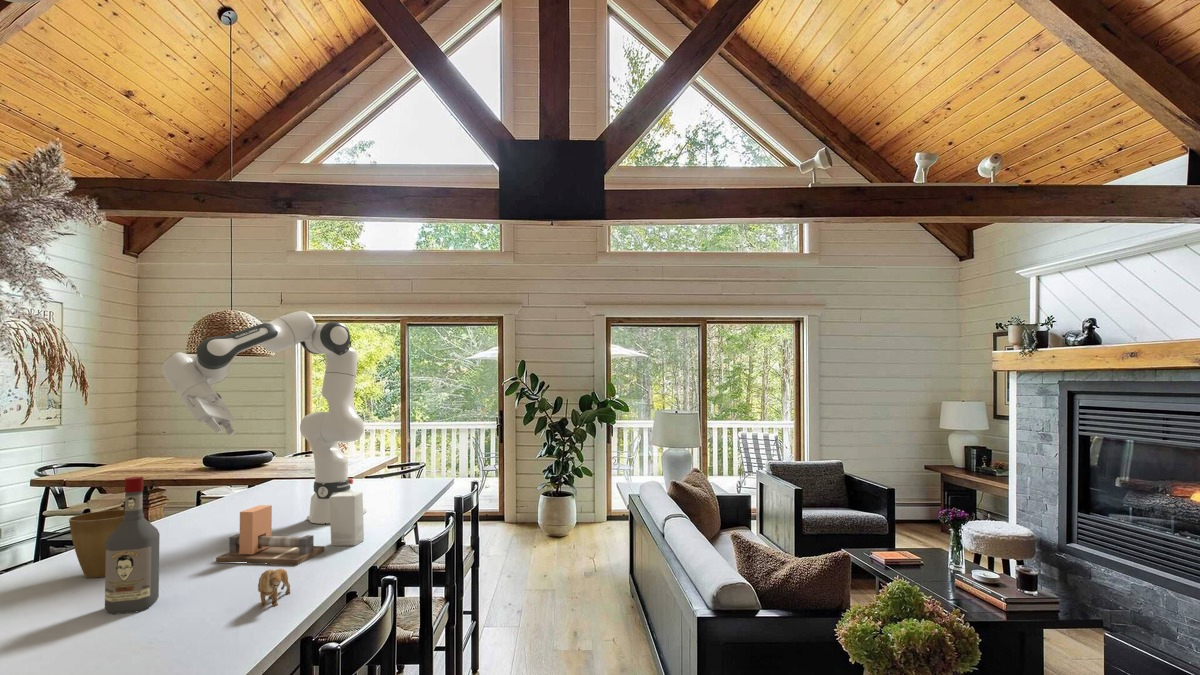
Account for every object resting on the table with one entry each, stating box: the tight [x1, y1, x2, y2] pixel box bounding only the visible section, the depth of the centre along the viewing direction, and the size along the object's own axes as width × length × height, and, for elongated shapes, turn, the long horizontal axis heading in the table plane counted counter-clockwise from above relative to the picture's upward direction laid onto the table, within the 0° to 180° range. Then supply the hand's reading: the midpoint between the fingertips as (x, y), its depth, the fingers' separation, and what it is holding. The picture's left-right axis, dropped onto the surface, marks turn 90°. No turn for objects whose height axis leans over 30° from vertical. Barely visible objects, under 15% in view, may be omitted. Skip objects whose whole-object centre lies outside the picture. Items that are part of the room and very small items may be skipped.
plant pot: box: [68, 509, 125, 579], centre depth 182 cm, size 15×15×16 cm
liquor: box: [104, 476, 160, 615], centre depth 157 cm, size 9×9×30 cm
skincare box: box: [329, 491, 365, 547], centre depth 210 cm, size 8×7×16 cm
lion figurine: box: [257, 568, 291, 608], centre depth 159 cm, size 15×5×9 cm, turn 14°
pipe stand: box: [215, 533, 325, 566], centre depth 196 cm, size 14×25×6 cm, turn 83°
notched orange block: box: [239, 504, 273, 554], centre depth 197 cm, size 9×4×12 cm, turn 173°
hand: (226, 432), depth 207 cm, fingers open, 8 cm apart
